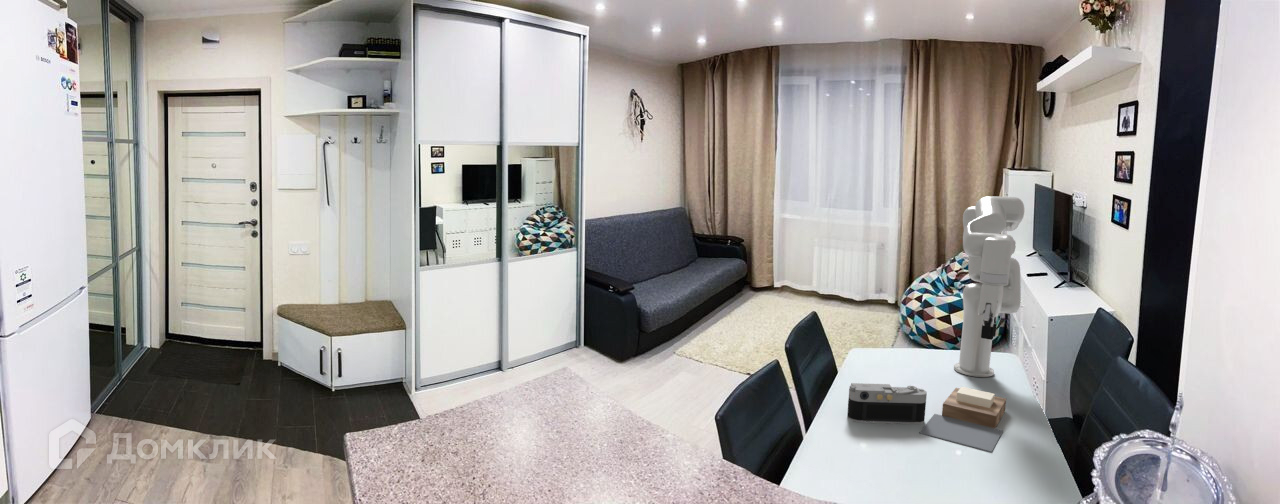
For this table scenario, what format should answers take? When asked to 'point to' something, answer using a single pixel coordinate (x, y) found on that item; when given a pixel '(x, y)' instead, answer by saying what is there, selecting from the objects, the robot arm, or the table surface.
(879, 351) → the table surface
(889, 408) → the camera
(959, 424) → the mat
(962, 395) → the cream rectangular block
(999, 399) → the brown flat block
